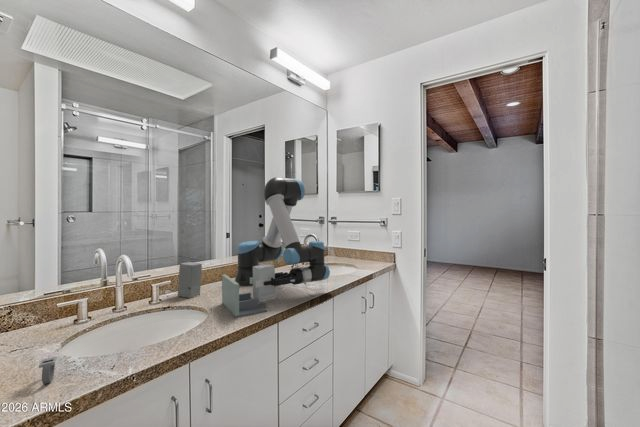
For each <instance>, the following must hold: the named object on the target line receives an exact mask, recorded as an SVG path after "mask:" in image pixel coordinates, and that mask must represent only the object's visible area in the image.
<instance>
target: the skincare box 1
mask: <svg viewBox="0 0 640 427" xmlns="http://www.w3.org/2000/svg"><path fill="white" fill-rule="evenodd" d="M178 268H179V270H178V285H177V297H178V296H182V297H181V298H185V297H187V299H192V298H191V297H193V298H195V297H194V296H196V297H198V296H197V295H199V296H200V295H201V289H202V288H201V286H202V283H201V282H202V268H203V264H202V263H201V262H200V263H199V262H192V261H187V262H182V263H179V266H178Z"/></svg>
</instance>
